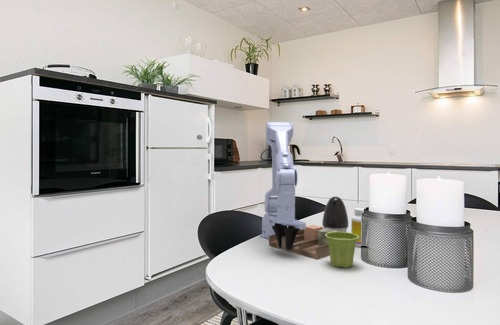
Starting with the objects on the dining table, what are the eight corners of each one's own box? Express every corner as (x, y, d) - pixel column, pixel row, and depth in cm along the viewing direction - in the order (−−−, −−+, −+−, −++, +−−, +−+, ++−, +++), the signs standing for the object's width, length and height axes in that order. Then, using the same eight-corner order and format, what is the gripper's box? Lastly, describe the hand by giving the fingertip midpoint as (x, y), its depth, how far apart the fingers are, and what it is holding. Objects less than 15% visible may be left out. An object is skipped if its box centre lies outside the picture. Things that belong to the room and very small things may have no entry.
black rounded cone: (319, 236, 136) (320, 197, 136) (324, 230, 146) (325, 194, 145) (346, 238, 132) (347, 198, 132) (349, 232, 142) (350, 195, 142)
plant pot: (340, 272, 96) (340, 240, 95) (318, 262, 104) (318, 233, 104) (365, 267, 100) (365, 237, 100) (342, 258, 108) (342, 230, 108)
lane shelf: (268, 245, 122) (269, 227, 121) (297, 238, 133) (297, 221, 132) (317, 259, 107) (317, 238, 107) (345, 249, 118) (345, 230, 118)
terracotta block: (277, 248, 113) (277, 232, 113) (312, 238, 126) (312, 224, 126) (288, 251, 110) (288, 235, 110) (322, 241, 123) (323, 226, 122)
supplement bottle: (371, 248, 120) (372, 211, 119) (351, 247, 121) (352, 210, 121) (369, 243, 126) (369, 208, 126) (350, 242, 127) (350, 207, 127)
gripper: (261, 204, 114) (260, 245, 115) (295, 210, 104) (295, 255, 104) (275, 202, 119) (275, 241, 119) (310, 207, 109) (309, 250, 109)
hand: (285, 248), depth 112 cm, fingers closed on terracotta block, 3 cm apart
